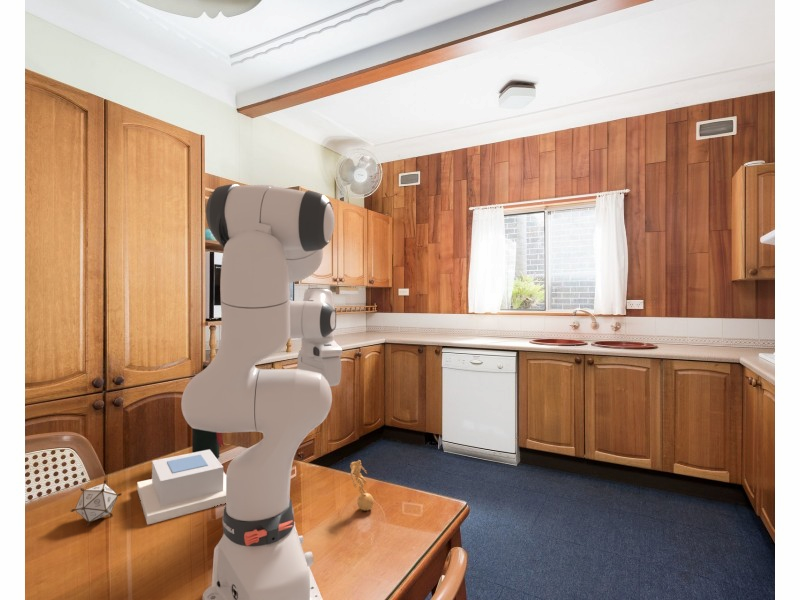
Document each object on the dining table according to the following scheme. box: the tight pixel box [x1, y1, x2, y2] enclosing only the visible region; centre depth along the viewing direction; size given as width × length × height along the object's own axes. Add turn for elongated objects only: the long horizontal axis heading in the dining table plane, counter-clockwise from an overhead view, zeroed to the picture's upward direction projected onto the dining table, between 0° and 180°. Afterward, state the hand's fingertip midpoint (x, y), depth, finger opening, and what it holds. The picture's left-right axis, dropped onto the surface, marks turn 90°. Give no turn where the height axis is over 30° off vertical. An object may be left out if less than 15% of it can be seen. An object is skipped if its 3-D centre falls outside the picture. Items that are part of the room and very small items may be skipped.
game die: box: [70, 479, 123, 527], centre depth 99 cm, size 9×8×10 cm
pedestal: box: [136, 449, 226, 526], centre depth 111 cm, size 20×20×8 cm
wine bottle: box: [191, 360, 224, 460], centre depth 133 cm, size 8×10×30 cm
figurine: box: [349, 459, 375, 512], centre depth 106 cm, size 8×6×12 cm
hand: (316, 396), depth 120 cm, fingers closed on walnut block, 5 cm apart
